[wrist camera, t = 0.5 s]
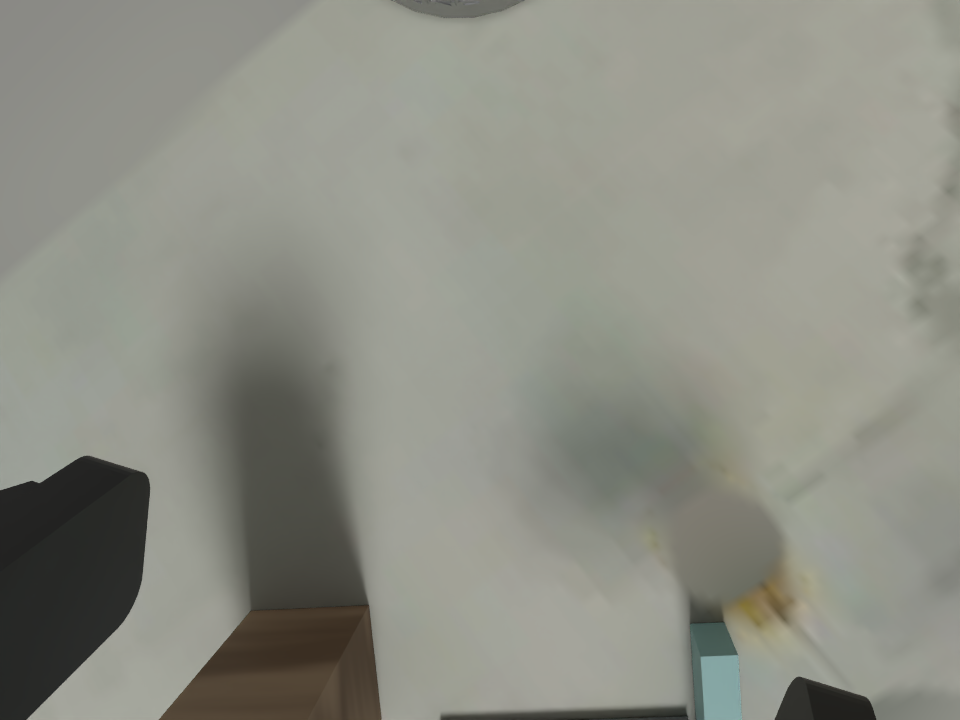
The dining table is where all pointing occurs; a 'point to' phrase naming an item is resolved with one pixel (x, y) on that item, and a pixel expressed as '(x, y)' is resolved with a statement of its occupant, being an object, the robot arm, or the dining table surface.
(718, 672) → the teal corner fixture
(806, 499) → the dining table surface
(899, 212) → the dining table surface
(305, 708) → the walnut block
